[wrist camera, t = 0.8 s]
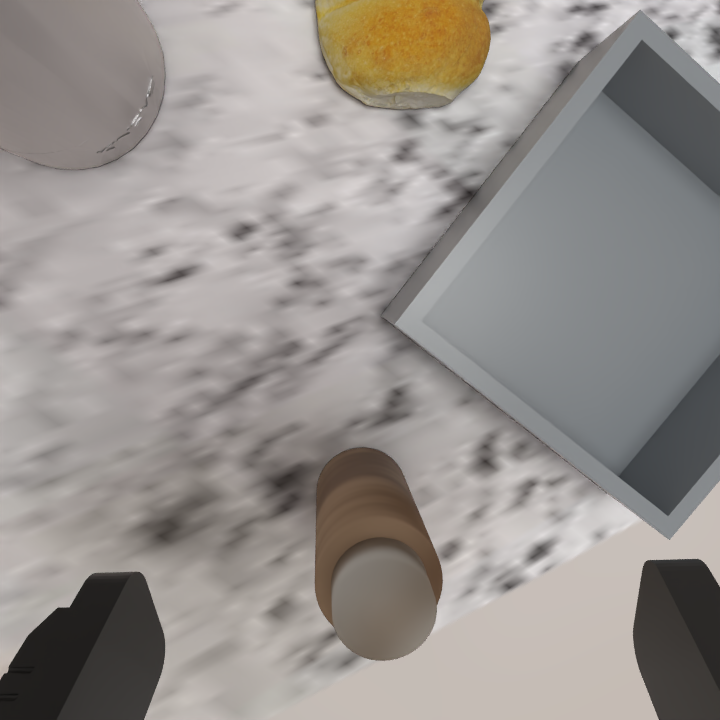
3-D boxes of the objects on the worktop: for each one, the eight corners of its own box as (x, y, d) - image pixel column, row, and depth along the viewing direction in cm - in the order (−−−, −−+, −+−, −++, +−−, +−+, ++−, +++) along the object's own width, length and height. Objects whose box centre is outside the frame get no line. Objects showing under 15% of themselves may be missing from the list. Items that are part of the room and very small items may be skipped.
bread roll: (484, -81, 30) (509, -136, 26) (481, 112, 31) (505, 88, 27) (313, -85, 29) (312, -143, 25) (317, 111, 30) (317, 86, 26)
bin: (380, 315, 32) (394, 324, 26) (578, 61, 31) (640, 9, 25) (608, 493, 34) (669, 539, 28) (800, 262, 33) (906, 258, 27)
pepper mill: (298, 499, 33) (285, 626, 21) (353, 429, 32) (372, 517, 21) (369, 550, 33) (396, 701, 21) (423, 482, 33) (481, 597, 21)
